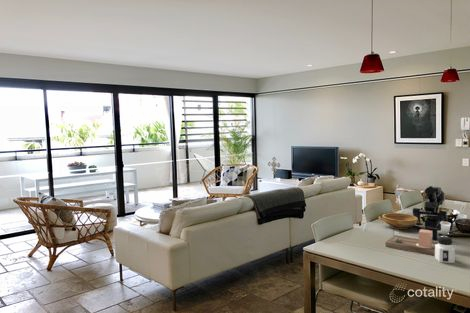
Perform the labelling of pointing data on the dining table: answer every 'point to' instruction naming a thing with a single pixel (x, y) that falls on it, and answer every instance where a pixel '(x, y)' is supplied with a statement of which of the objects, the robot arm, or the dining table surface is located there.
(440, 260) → the container
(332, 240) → the dining table surface
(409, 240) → the walnut board
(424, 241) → the peach colored cube
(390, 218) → the wooden bowl
